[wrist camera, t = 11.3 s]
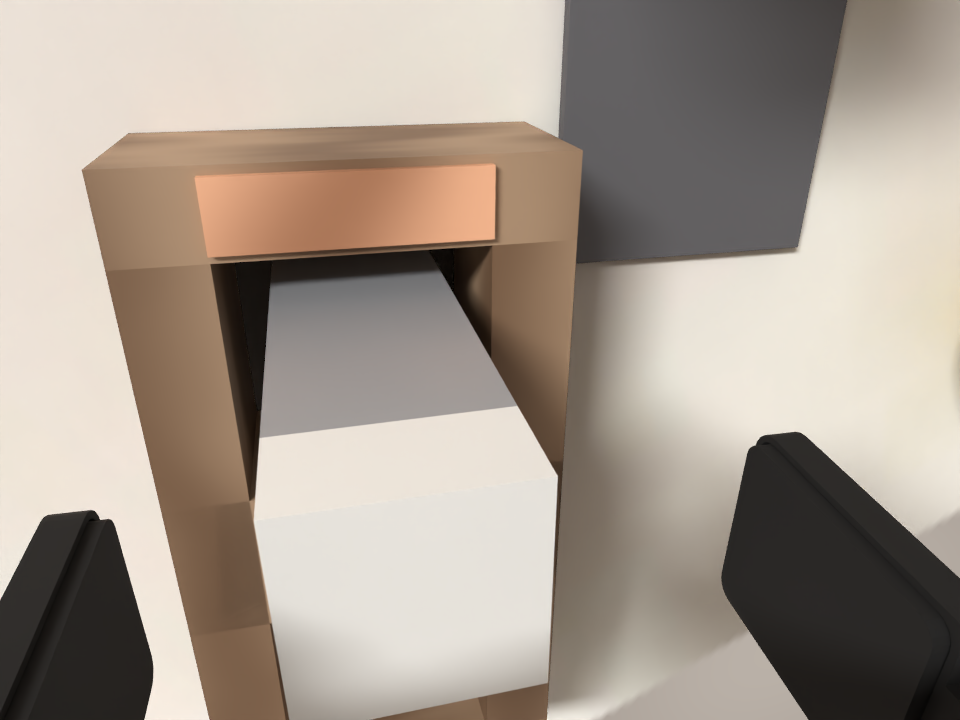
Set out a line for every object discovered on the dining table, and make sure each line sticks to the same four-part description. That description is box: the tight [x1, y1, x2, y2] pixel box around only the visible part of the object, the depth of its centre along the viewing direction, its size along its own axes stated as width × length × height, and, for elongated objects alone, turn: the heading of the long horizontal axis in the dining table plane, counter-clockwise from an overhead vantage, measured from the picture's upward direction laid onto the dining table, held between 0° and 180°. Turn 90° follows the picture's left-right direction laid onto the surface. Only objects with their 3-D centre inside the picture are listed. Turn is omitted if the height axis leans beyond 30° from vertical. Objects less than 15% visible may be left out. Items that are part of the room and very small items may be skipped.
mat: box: [559, 0, 847, 263], centre depth 21 cm, size 8×8×1 cm
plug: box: [254, 250, 558, 720], centre depth 16 cm, size 4×4×12 cm
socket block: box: [82, 122, 583, 720], centre depth 21 cm, size 10×20×5 cm, turn 1°
